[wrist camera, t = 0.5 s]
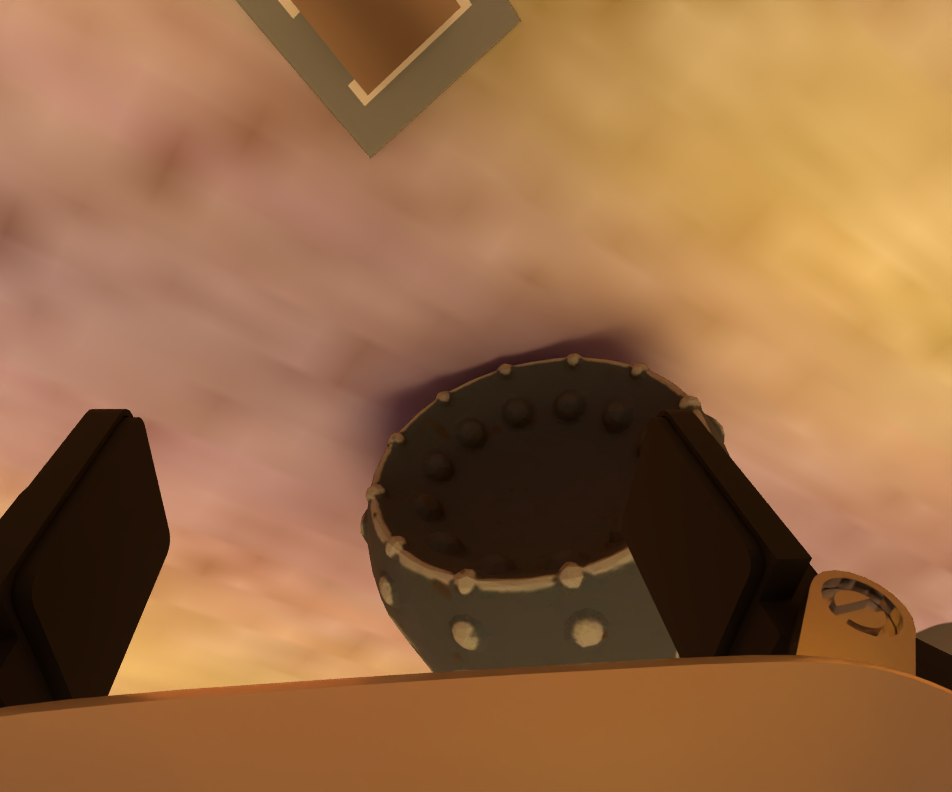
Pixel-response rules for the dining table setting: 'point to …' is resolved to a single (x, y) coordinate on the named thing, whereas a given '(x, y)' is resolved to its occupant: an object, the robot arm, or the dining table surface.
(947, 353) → the dining table surface
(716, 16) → the dining table surface
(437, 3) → the walnut block
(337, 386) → the dining table surface
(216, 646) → the dining table surface
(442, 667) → the dark green studded bowl
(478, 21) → the letter tile
